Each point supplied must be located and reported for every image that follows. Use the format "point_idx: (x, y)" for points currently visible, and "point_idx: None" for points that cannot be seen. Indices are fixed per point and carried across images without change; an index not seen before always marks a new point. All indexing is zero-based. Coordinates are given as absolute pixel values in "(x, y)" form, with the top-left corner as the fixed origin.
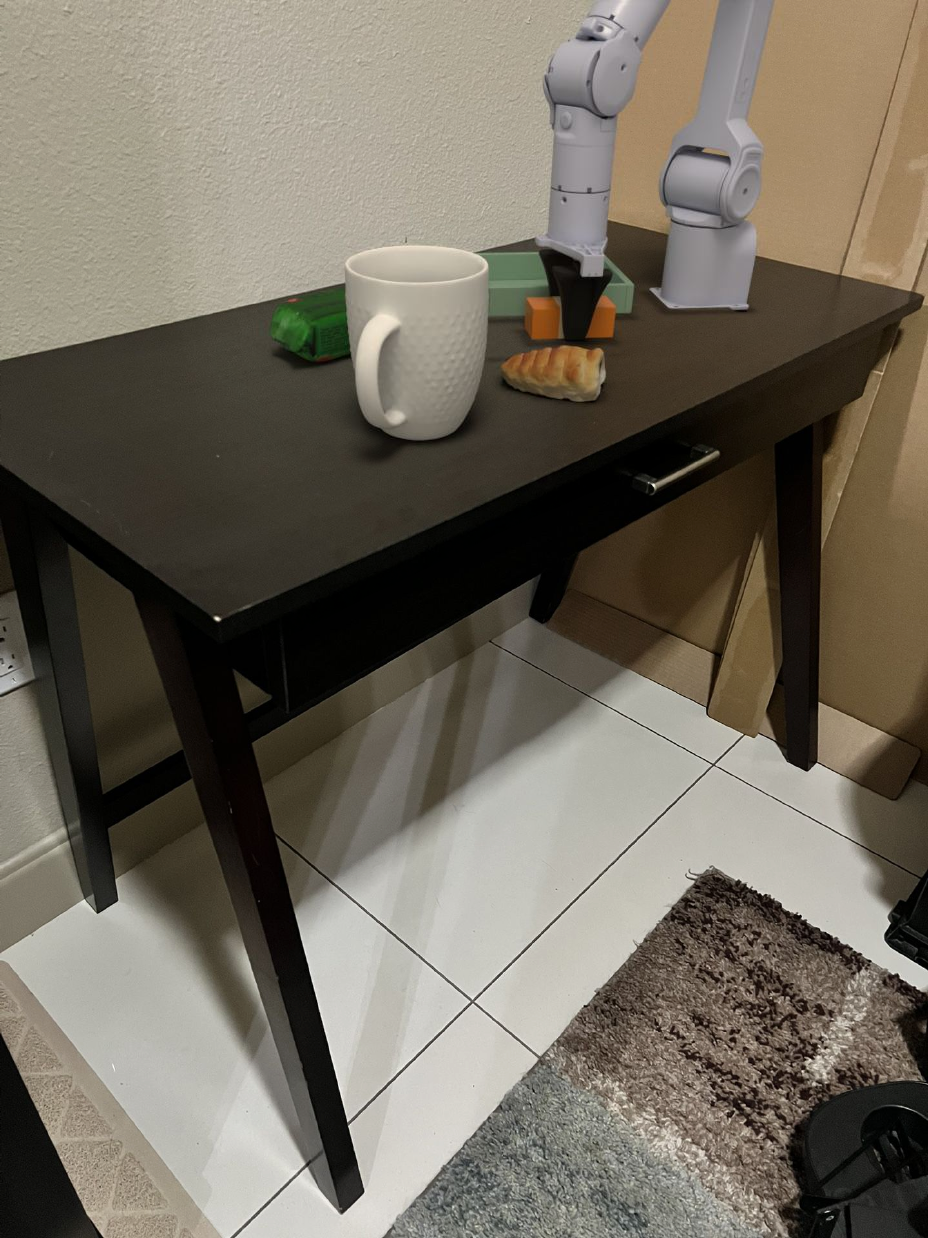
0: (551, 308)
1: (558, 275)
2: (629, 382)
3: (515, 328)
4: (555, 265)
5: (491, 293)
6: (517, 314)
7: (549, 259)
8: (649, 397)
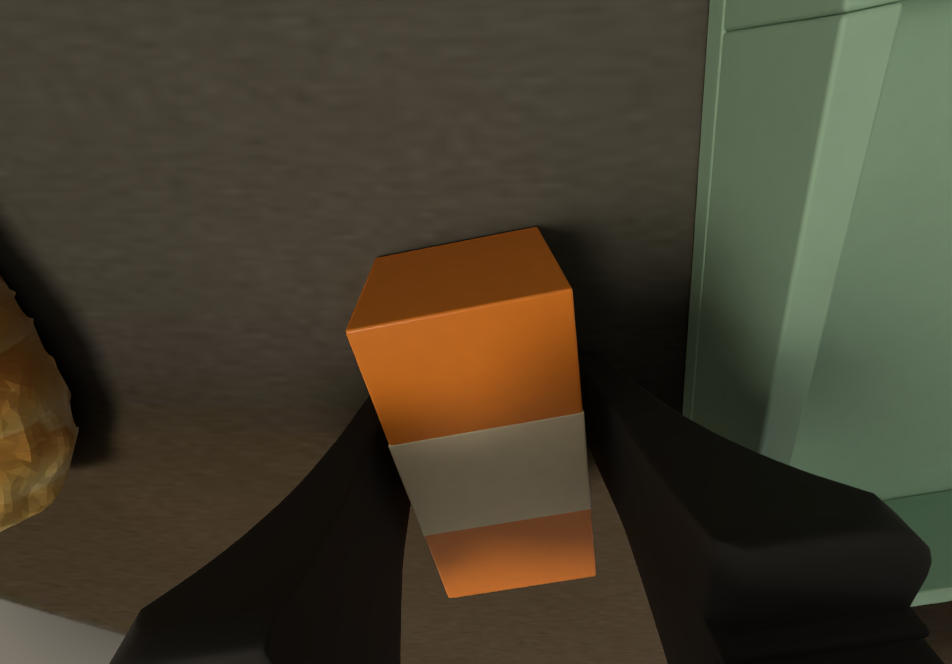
0: (379, 410)
1: (117, 650)
2: (121, 516)
3: (593, 184)
4: (678, 551)
5: (808, 33)
6: (708, 198)
7: (703, 563)
8: (34, 548)
